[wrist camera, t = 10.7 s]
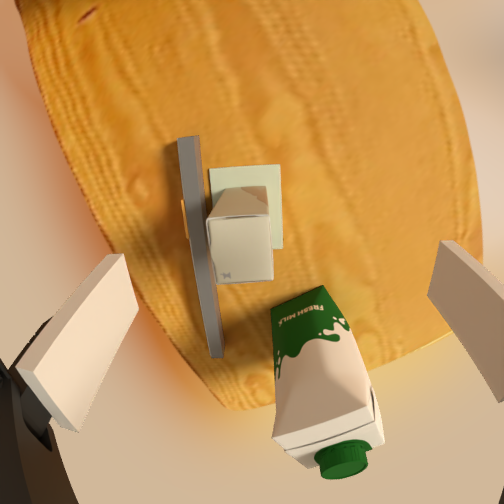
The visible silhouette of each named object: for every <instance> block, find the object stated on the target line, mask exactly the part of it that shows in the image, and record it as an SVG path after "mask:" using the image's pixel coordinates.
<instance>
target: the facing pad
mask: <svg viewBox="0 0 504 504" xmlns="http://www.w3.org/2000/svg"><path fill="white" fill-rule="evenodd" d="M209 172H210V183H211V193H212V202H213V208H214V206H215V205H216V203H217V201H218V200H219V198H220V197H221V195H222V193H223V192H224V190H225V189H226V188H234V187H246V186H266V189H267V197H268V206H269V215H270V223H271V235H272V248H273V249H283V229H282V199H281V175H280V164H271V165H252V166H237V167H224V168H212V169H209Z"/></svg>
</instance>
